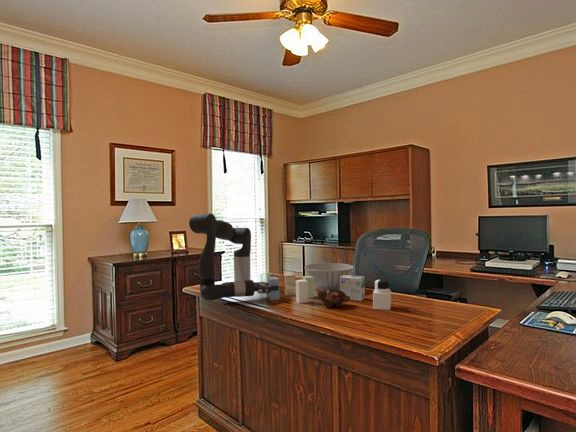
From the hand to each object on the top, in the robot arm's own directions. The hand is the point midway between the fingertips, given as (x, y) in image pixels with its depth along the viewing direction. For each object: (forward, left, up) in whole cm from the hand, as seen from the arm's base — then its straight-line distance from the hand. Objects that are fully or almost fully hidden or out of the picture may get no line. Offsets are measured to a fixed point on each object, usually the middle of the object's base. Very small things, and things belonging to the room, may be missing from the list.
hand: (276, 286), depth 181 cm
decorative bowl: (-12, +33, -6) cm, 35 cm away
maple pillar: (-6, +9, -6) cm, 12 cm away
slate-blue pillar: (0, -1, -6) cm, 6 cm away
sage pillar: (+2, +16, -6) cm, 17 cm away
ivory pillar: (+10, +10, -6) cm, 15 cm away
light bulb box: (+12, +35, -6) cm, 37 cm away
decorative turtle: (+22, +21, -6) cm, 31 cm away
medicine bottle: (+31, +40, -6) cm, 51 cm away
